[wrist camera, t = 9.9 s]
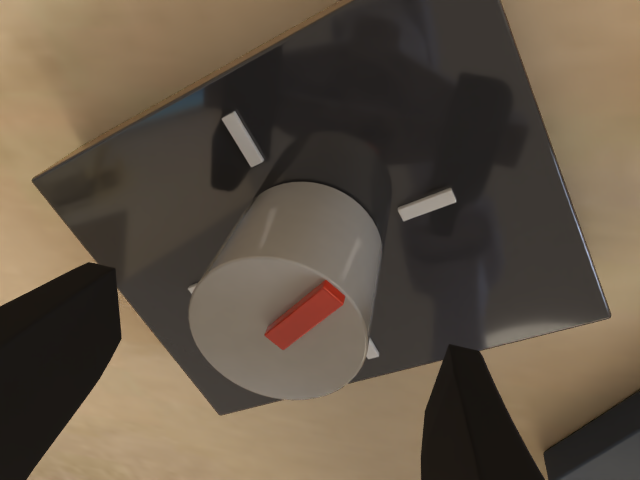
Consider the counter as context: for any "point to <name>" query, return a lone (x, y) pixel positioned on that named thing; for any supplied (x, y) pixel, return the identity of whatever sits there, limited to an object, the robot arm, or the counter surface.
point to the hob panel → (350, 182)
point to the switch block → (600, 447)
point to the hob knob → (291, 293)
